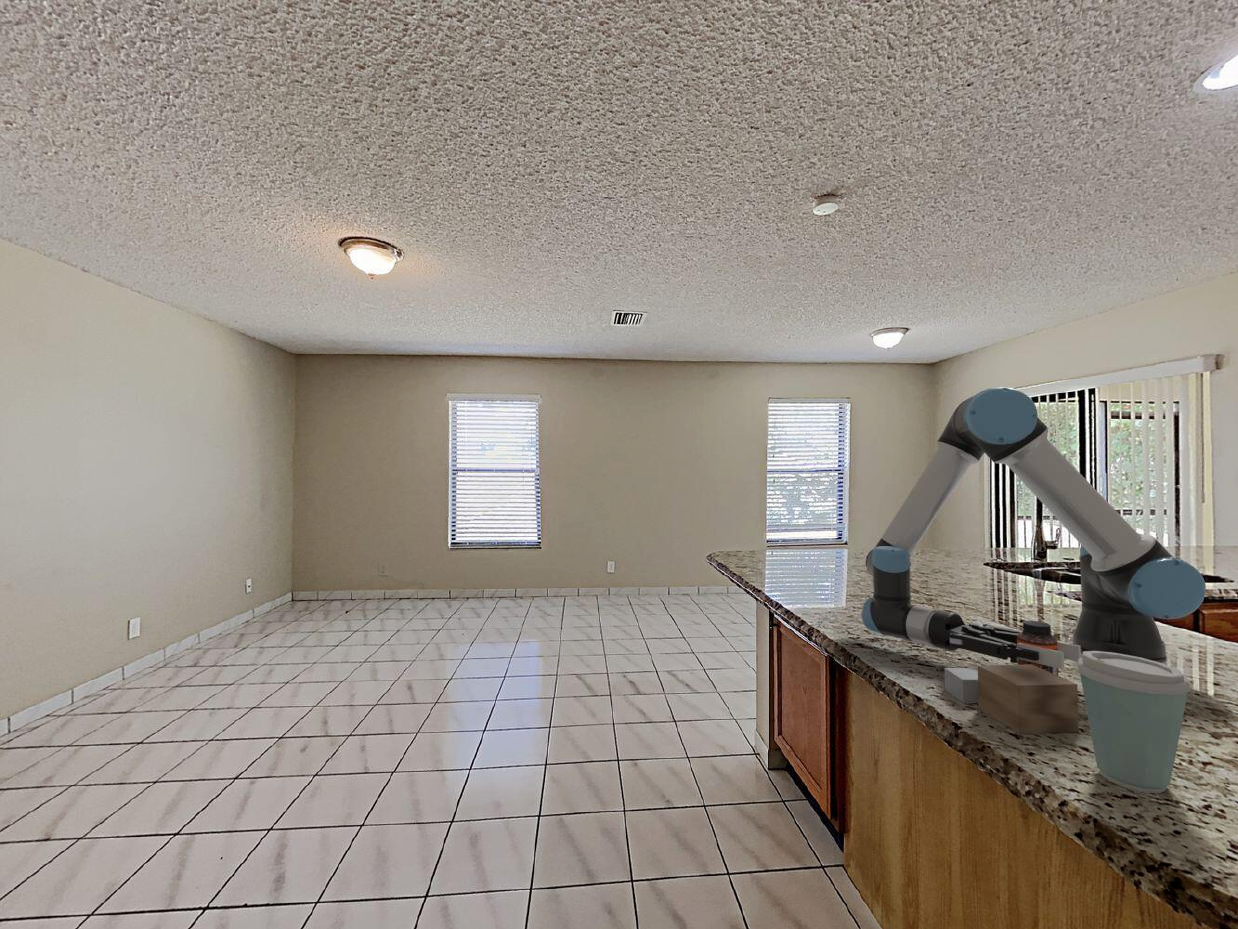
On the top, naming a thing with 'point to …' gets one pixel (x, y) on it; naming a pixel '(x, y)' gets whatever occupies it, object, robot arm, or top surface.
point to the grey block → (962, 683)
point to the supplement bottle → (1037, 641)
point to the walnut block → (1028, 698)
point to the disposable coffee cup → (1133, 717)
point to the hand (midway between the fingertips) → (1071, 657)
